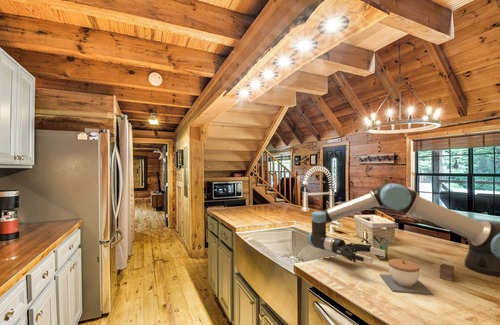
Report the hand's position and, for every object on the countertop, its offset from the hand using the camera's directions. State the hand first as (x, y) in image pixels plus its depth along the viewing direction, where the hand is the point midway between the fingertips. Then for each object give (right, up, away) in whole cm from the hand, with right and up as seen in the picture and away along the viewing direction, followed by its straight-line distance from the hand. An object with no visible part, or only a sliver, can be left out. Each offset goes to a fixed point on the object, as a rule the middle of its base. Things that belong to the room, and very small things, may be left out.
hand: (378, 257), depth 104 cm
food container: (+14, -9, +21) cm, 27 cm away
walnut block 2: (+28, -8, -3) cm, 29 cm away
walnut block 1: (+31, -8, 0) cm, 32 cm away
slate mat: (+6, -8, -8) cm, 13 cm away
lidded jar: (+6, -8, -8) cm, 12 cm away
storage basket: (+25, -10, +51) cm, 57 cm away
